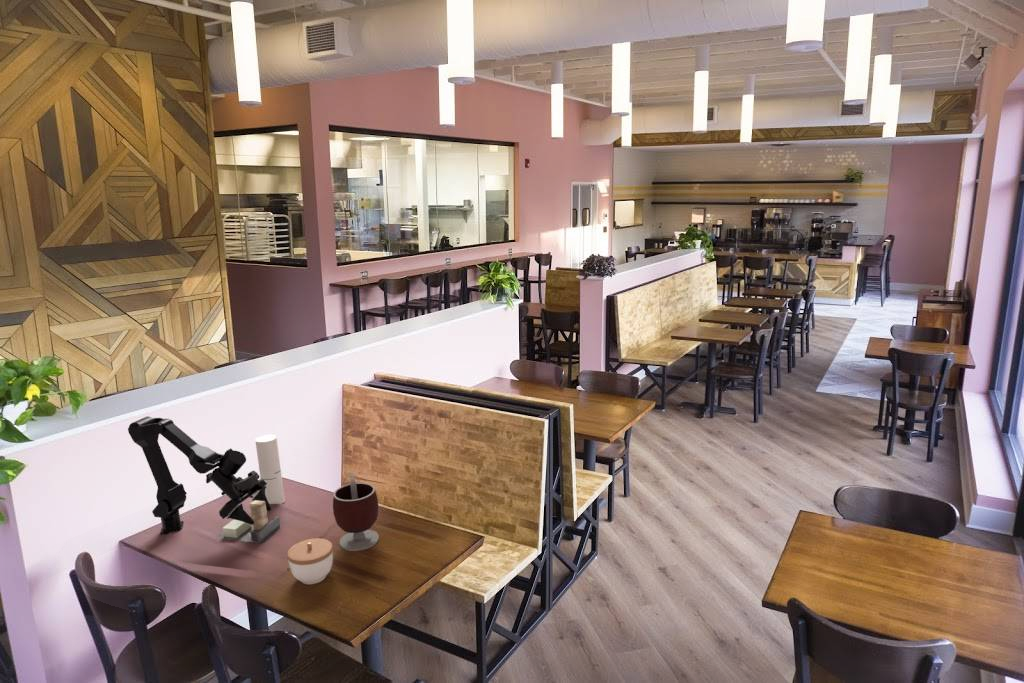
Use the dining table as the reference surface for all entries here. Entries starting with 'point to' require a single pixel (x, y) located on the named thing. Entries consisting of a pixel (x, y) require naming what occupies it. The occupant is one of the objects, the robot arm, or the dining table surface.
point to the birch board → (258, 514)
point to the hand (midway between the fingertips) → (262, 516)
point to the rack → (256, 533)
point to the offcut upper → (234, 526)
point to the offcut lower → (237, 533)
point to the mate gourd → (356, 514)
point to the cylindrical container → (270, 468)
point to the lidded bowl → (311, 560)
